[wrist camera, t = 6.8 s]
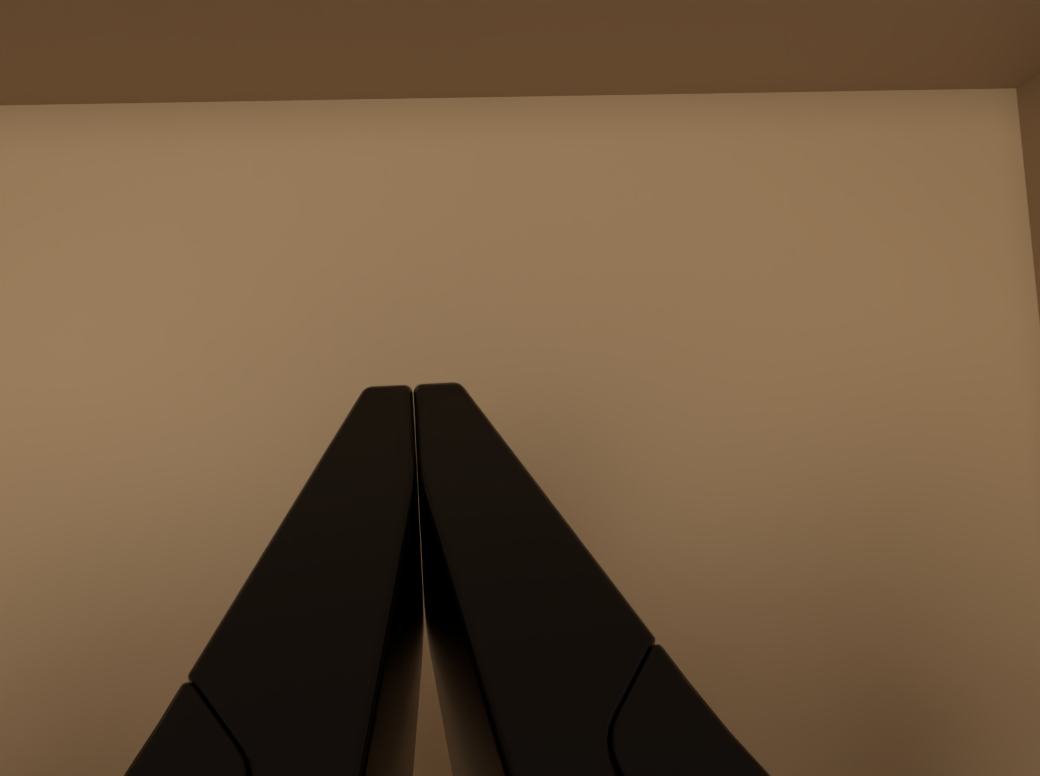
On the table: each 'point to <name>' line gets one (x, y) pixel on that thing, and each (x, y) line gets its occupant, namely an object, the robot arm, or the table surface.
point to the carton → (538, 337)
